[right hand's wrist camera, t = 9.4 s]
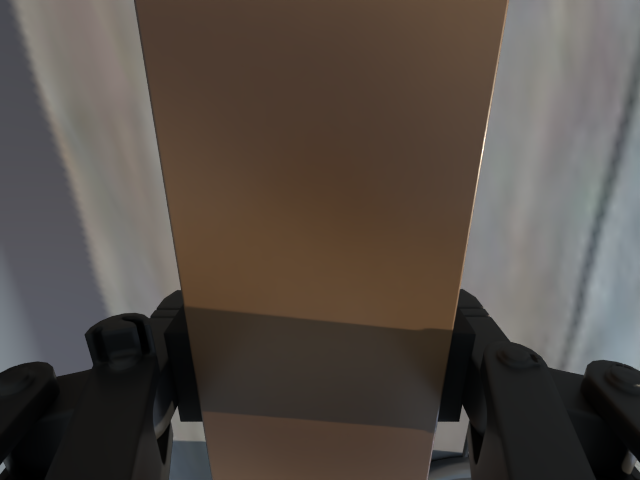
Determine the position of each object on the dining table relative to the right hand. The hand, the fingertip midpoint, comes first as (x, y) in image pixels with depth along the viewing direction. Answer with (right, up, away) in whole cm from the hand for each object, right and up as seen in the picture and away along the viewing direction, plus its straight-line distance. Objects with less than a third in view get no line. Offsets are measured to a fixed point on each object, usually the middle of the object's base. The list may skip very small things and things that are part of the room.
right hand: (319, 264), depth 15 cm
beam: (0, +32, -12) cm, 34 cm away
